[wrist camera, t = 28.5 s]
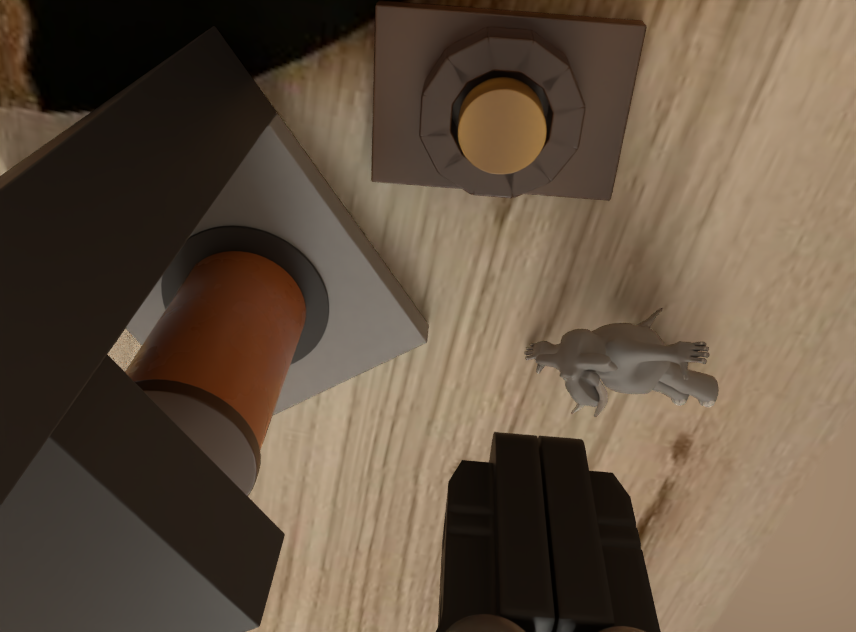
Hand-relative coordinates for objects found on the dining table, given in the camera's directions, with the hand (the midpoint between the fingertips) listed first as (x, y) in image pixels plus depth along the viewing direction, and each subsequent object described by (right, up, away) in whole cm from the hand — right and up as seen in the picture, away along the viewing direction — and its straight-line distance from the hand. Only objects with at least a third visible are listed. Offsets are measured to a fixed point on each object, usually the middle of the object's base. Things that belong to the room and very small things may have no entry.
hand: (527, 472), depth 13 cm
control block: (+1, +11, +18) cm, 21 cm away
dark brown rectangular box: (-11, +6, +22) cm, 25 cm away
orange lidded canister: (-10, +3, +21) cm, 24 cm away
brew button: (+1, +10, +16) cm, 19 cm away
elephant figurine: (+8, +2, +23) cm, 24 cm away
